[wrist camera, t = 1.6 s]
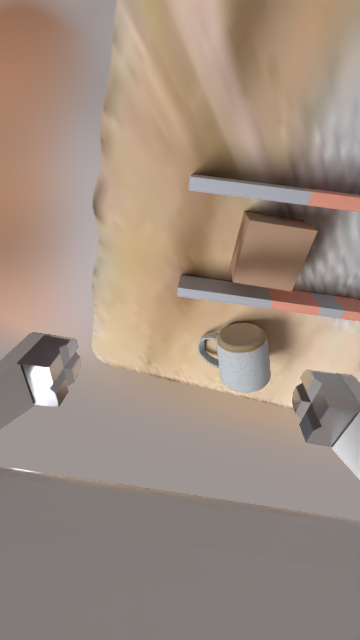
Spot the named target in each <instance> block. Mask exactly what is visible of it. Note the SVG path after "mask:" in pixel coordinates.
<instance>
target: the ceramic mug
mask: <svg viewBox="0 0 360 640" xmlns="http://www.w3.org/2000/svg"><path fill="white" fill-rule="evenodd" d="M206 339H213V340H217V354H218V359H215V358H213V357H212V356H210V355H209V354H208V353H207V352H206V350H205V340H206ZM198 352H199V354H200V356H201V357H202V358H203V359H204V360H205V361H206V362H207V363H209V364H211V365H212V366H215V367H218V368H219V372H220V377H221V380H222V382H223V383H224V385H226V386H227V387H228V388H230V389H232V390H234V391H237V392H243V393H244V392H246V393H250V392H255V391H258V390H260V389H262V388H264V387H265V386H266V385H267V383H268V382H269V380H270V376H271V373H270V360H269V347H268V340H267V336H266V334H265V332H264V330H263V329H262V328H260V327H259V326H257V325H255V324H251V323H235V324H231V325H229V326H227V327H225V328H223V329H222V330H221V331H220V333H214V332H213V333H207V334H205V335H203V337H202V338H201V339H200V341H199V342H198Z"/></svg>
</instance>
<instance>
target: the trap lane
mask: <svg viewBox="0 0 360 640" xmlns="http://www.w3.org/2000/svg"><path fill="white" fill-rule="evenodd" d="M189 190H190V191H198V192H206V193H214V194H222V195H230V196H238V197H245V198H253V199H261V200H269V201H277V202H285V203H293V204H300V205H308V206H316V207H324V208H332V209H340V210H348V211H355V212H360V195H357V194H349V193H341V192H333V191H325V190H317V189H309V188H301V187H293V186H285V185H277V184H269V183H261V182H253V181H245V180H237V179H229V178H221V177H213V176H205V175H197V174H192V175H191V176H190V181H189ZM177 296H181V297H188V298H196V299H203V300H210V301H217V302H224V303H232V304H239V305H246V306H253V307H260V308H268V309H275V310H282V311H289V312H296V313H304V314H311V315H318V316H325V317H333V318H340V319H347V320H354V321H360V299H355V298H347V297H340V296H333V295H325V294H318V293H311V292H303V291H296V290H292V292H291V291H285V290H278V289H272V288H266V287H259V286H253V285H247V284H240V283H234V282H230V281H223V280H216V279H208V278H201V277H194V276H186V275H181V277H180V281H179V286H178V293H177Z"/></svg>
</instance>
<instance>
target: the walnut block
mask: <svg viewBox="0 0 360 640" xmlns="http://www.w3.org/2000/svg"><path fill="white" fill-rule="evenodd" d="M317 232H318V231H317V230H316V229H314V228H313V227H312V226H310V225H309V224H307V223H306V222H305V221H303V220H297V219H291V218H284V217H278V216H271V215H265V214H258V213H252V212H245V211H244V214H243V218H242V222H241V226H240V230H239V233H238V237H237V241H236V245H235V249H234V253H233V257H232V261H231V265H230V270H231V275H232V281H233V282H234V283H240V284H247V285H253V286H259V287H266V288H272V289H278V290H285V291H291V292H292V290H293V287H294V285H295V283H296V280H297V278H298V276H299V273H300V271H301V269H302V266H303V264H304V262H305V260H306V257H307V255H308V253H309V250H310V248H311V246H312V243H313V241H314V239H315V236H316V234H317Z"/></svg>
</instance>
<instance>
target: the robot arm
mask: <svg viewBox="0 0 360 640" xmlns="http://www.w3.org/2000/svg"><path fill="white" fill-rule="evenodd" d="M77 349H78V343H77V340H76V339H74V338H70V337H63V336H57V335H50V334H43V333H36V332H33V333H30V334H29V335H27V336H26V337H25V338H24V339H23V340H22V341H21V342H20V343H19V344H18V345H17V346H16V347H15V348H13V349H12V350H11V351H10V352H9V353H8V354H7V355H6V356H5V357H4V358H3V359H2V360H1V361H0V429H1V428H3V427H4V426H6V425H7V424H8V423H10V422H11V421H13V420H14V419H16V418H17V417H19V416H20V415H21V414H23V413H24V412H26V411H27V410H29V409H30V408H32V407H33V406H34V404H36V405H44V406H54V407H59V406H60V405H61V403H62V401H63V400H64V398H65V397H66V395H67V393H68V387H67V386H69V385H70V384H72V383H74V382H75V380H76V379H77V377H78V374H79V371H80V368H81V360H80V356H79V355H78V354H77V353H76V350H77ZM300 378H301V380H302V383H301V384H299V385H298V386H296V388H295V390H294V392H293V397H292V403H293V408H294V411H295V413H296V414H297V415H298V416H299V417H300V418H301V419H302V420H301V422H300V424H299V425H300V428H301V431H302V433H303V436H304V439H305V442H306V443H311V444H316V445H322V446H328V447H332V449H333V450H334V452H336V454H337V455H338V456H339V457H340V458H341V459H342V461H343V462H344V463H345V464H346V465H347V466H348V467H349V468H350V470H351V471H352V472H353V473H354V474H355V475H356V476H357V477H358V479H359V480H360V383H359V382H358V380H357V379H356V378H355V377H354V376H352V375H347V374H339V373H336V374H335V373H328V372H320V371H313V370H306V371H304V372H303V374H302V376H301V377H300ZM0 640H360V520H353V519H347V518H340V517H333V516H327V515H320V514H314V513H307V512H301V511H294V510H288V509H281V508H274V507H268V506H261V505H254V504H248V503H242V502H235V501H228V500H222V499H215V498H209V497H202V496H196V495H189V494H183V493H176V492H169V491H162V490H156V489H150V488H142V487H135V486H129V485H123V484H116V483H110V482H103V481H97V480H90V479H83V478H77V477H70V476H63V475H57V474H50V473H43V472H37V471H30V470H24V469H17V468H11V467H4V466H0Z"/></svg>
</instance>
